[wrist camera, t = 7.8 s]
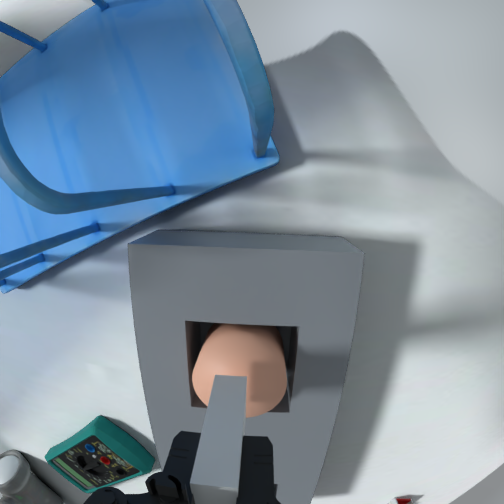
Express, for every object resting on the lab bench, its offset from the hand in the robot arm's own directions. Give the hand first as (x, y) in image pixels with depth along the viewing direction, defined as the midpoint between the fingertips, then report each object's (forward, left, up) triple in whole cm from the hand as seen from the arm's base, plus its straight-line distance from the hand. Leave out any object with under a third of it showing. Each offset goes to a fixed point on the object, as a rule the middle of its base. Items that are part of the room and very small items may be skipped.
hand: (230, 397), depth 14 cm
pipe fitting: (+4, -43, -8) cm, 44 cm away
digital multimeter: (+4, -24, -8) cm, 25 cm away
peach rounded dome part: (0, 0, -5) cm, 5 cm away
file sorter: (-19, -1, -8) cm, 21 cm away
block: (+6, -4, -8) cm, 10 cm away
